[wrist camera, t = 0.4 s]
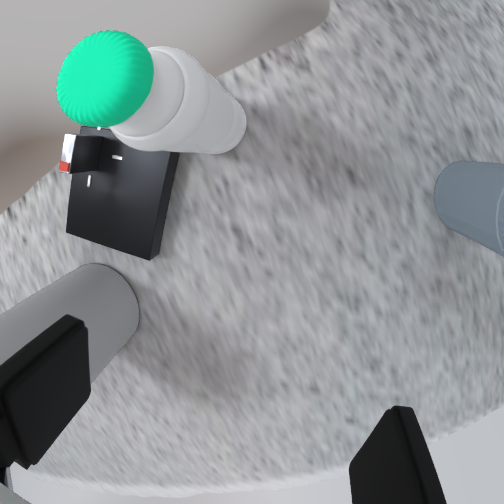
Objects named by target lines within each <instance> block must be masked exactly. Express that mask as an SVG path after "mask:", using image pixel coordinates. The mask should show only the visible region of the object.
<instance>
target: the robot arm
mask: <svg viewBox="0 0 504 504" xmlns="http://www.w3.org/2000/svg"><path fill="white" fill-rule="evenodd" d="M90 393H91V383H90V368H89V343H88V328H87V327H85V323H84V321H83V320H81V319H78V318H76V317H74V316H71V315H69V314H66V315H64V316H63V317H61V318H60V319H59V320H57V321H56V322H55V323H54V324H52V325H51V326H50V327H48V328H47V329H46V330H44V331H43V332H42V333H40V334H39V335H38V336H37V337H35V338H34V339H33V340H31V341H30V342H29V343H28V344H26V345H25V346H24V347H22V348H21V349H20V350H19V351H17V352H16V353H15V354H14V355H12V356H11V357H10V358H9V359H7V360H6V361H5V362H4V363H2V364H1V365H0V504H31V503H29V502H27V501H26V500H25V499H23V498H22V497H20V496H19V495H17V494H16V493H14V492H13V487H12V480H11V473H10V466H11V464H12V463H13V462H14V461H15V462H16V463H18V464H19V465H21V466H22V467H23V468H25V469H26V470H27V469H28V468H29V466H30V465H31V464H32V465H35V464H37V463H38V462H39V460H40V459H41V458H42V457H43V455H44V454H45V453H46V451H47V450H48V449H49V448H50V446H51V445H52V444H53V442H54V441H55V440H56V439H57V437H58V436H59V435H60V433H61V432H62V431H63V430H64V428H65V427H66V426H67V425H68V423H69V422H70V421H71V420H72V418H73V417H74V416H75V414H76V413H77V412H78V411H79V409H80V408H81V407H82V406H83V404H84V403H85V402H86V401H87V399H88V398H89V396H90ZM349 476H350V485H351V494H352V504H447V503H446V500H445V497H444V494H443V490H442V487H441V484H440V481H439V478H438V475H437V472H436V469H435V467H434V464H433V461H432V458H431V455H430V452H429V450H428V447H427V444H426V442H425V439H424V436H423V434H422V431H421V428H420V426H419V423H418V421H417V418H416V415H415V413H414V410H413V409H412V408H411V407H404V406H393V407H392V408H391V409H388V410H387V411H386V412H385V413H384V415H383V416H382V418H381V419H380V421H379V422H378V424H377V425H376V427H375V428H374V430H373V431H372V433H371V434H370V436H369V437H368V439H367V440H366V442H365V443H364V444H363V446H362V447H361V449H360V450H359V451H358V453H357V454H356V456H355V457H354V458H353V460H352V461H351V463H350V466H349Z"/></svg>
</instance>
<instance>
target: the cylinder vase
mask: <svg viewBox="0 0 504 504" xmlns="http://www.w3.org/2000/svg"><path fill="white" fill-rule="evenodd" d="M66 314H69V315H71V316H74V317H76V318H78V319H81V320H83V321H84V323H85V327H87V328H88V343H89V368H90V383H91V384H92V382H93V381H94V380H95V379H96V378H97V376H98V375H99V374H100V373H101V372H102V371H103V369H104V368H105V367H106V366H107V365H108V363H109V362H110V361H111V360H112V359H113V358H114V356H115V355H116V354H117V353H118V352H119V351H120V349H121V348H122V347H123V346H124V345H125V344H126V342H127V341H128V340H129V339H130V338H131V337H132V336H133V334H134V333H135V331H136V329H137V327H138V323H139V307H138V302H137V299H136V297H135V294H134V292H133V290H132V289H131V287H130V286H129V284H128V283H127V282H126V280H125V279H124V278H123V277H122V276H121V275H120V274H118V273H117V272H116V271H114V270H113V269H111V268H109V267H107V266H104V265H101V264H86V265H83V266H81V267H79V268H77V269H75V270H74V271H72V272H70V273H68V274H67V275H65V276H63V277H62V278H60V279H58V280H56V281H55V282H53V283H51V284H50V285H48V286H46V287H45V288H43V289H41V290H40V291H38V292H36V293H35V294H33V295H31V296H30V297H28V298H26V299H25V300H23V301H22V302H20V303H18V304H17V305H15V306H14V307H12V308H10V309H9V310H7V311H6V312H4V313H3V314H1V315H0V365H1V364H2V363H4V362H5V361H6V360H7V359H9V358H10V357H11V356H12V355H14V354H15V353H16V352H17V351H19V350H20V349H21V348H22V347H24V346H25V345H26V344H28V343H29V342H30V341H31V340H33V339H34V338H35V337H37V336H38V335H39V334H40V333H42V332H43V331H44V330H46V329H47V328H48V327H50V326H51V325H52V324H54V323H55V322H56V321H57V320H59V319H60V318H61V317H63V316H64V315H66Z"/></svg>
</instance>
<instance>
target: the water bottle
mask: <svg viewBox="0 0 504 504" xmlns="http://www.w3.org/2000/svg"><path fill="white" fill-rule="evenodd" d="M58 76H59V79H58V80H57V85H58V86H57V88H56V91H57V98H58V99H59V101H58V103H59V105H60V106H61V109H62V111H64V112H65V114H66V115H67V116H68V117H70V119H72V120H73V121H75V122H77V123H79V124H82V125H87V126H91V127H109V128H110V129H111V131H112V132H113V134H114V135H115V136H116V137H117V138H118V139H119V140H120V141H122V142H123V143H124V144H126V145H128V146H130V147H132V148H135V149H138V150H142V151H161V150H163V151H171V152H195V153H206V154H221V153H225V152H227V151H229V150H231V149H233V148H234V147H235V146H236V145H237V144H238V143H239V142H240V141H241V139H242V138H243V136H244V134H245V131H246V125H247V121H246V115H245V112H244V110H243V108H242V106H241V105H240V104H239V102H238V101H237V100H235V99H234V98H233V97H232V96H231V95H230V94H229V93H228V92H227V91H226V90H224V88H223V87H222V86H221V85H220V84H219V82H218V81H217V80H216V79H215V78H214V77H212V76H211V75H210V74H209V73H208V72H207V71H205V70H204V69H203V68H202V67H201V65H200V64H199V63H198V62H197V61H196V60H195V59H194V58H193V57H192V56H191V55H189V54H187V53H186V52H184V51H182V50H179V49H176V48H172V47H166V46H157V47H150V48H146V47H145V46H144V45H143V44H142V43H141V42H140V41H139V40H138V39H136V38H134V37H133V36H131V35H129V34H127V33H125V32H119V31H110V30H107V31H100V32H98V33H94V34H92V35H91V36H88V37H85V38H84V40H83V41H80V42H79V43H78V45H77V46H75V47H73V50H72V51H71V52H70V53H68V57H67V58H66V59H65V60H64V64H63V66H61V71H60V73H59V74H58Z"/></svg>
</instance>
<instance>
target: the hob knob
mask: <svg viewBox="0 0 504 504" xmlns="http://www.w3.org/2000/svg"><path fill="white" fill-rule="evenodd" d="M102 138H103V137H102V136H96V135H85V134H65V138H64V144H63V149H62V156H61V161H60V165H59V172H63V173H67V174H73V173H81V172H90V171H96V169H97V164H98V158H99V153H100V148H101V143H102Z"/></svg>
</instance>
